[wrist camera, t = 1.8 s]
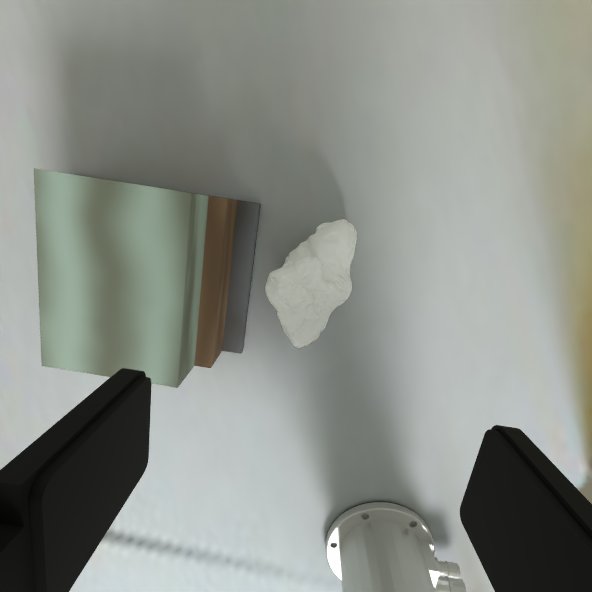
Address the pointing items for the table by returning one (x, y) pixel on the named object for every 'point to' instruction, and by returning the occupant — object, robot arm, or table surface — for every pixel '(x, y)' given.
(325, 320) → the bust
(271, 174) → the table surface
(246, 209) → the sage layered slab
